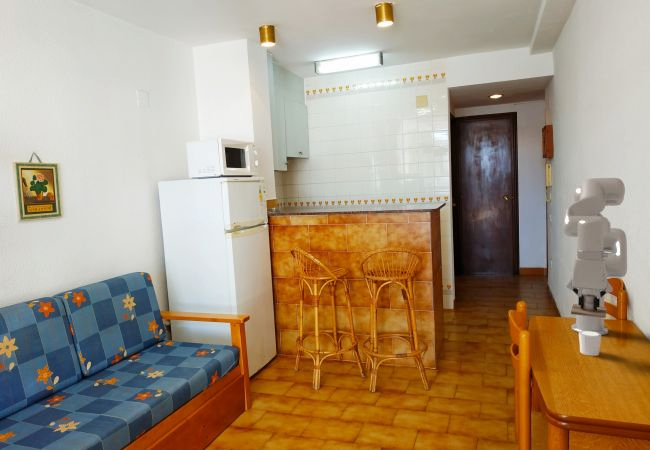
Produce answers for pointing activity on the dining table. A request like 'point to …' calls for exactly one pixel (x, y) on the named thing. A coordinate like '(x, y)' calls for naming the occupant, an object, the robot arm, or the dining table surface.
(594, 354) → the white cup
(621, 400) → the dining table surface
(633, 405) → the dining table surface
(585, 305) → the lid
